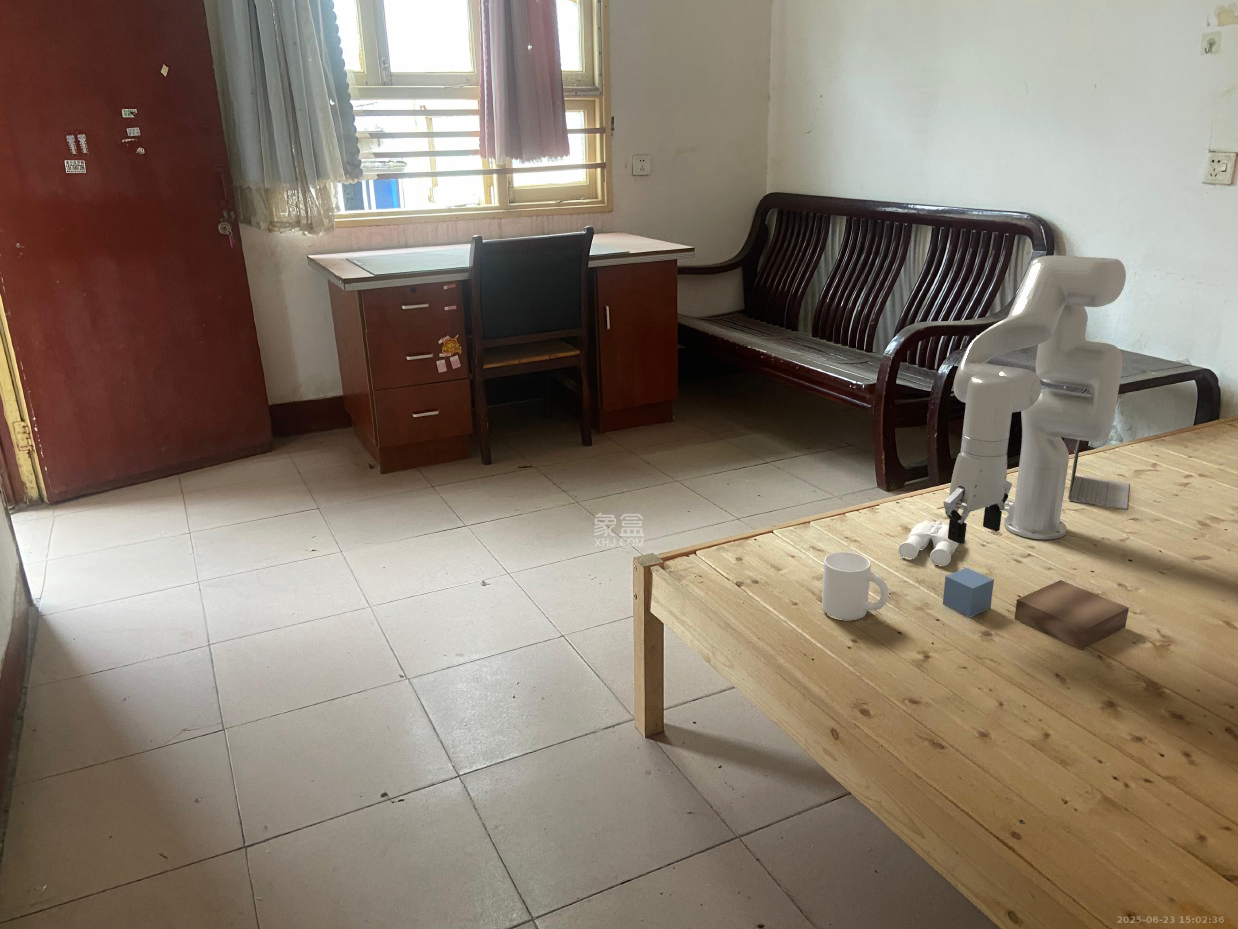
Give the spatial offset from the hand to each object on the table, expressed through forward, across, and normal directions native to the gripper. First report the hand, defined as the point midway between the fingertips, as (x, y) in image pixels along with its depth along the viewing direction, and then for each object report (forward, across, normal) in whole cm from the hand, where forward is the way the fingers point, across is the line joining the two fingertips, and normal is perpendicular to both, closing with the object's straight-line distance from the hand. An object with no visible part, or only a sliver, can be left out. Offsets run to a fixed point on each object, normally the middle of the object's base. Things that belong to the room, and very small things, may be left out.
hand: (973, 535), depth 164 cm
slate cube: (+15, -1, 0) cm, 15 cm away
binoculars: (+15, -16, -21) cm, 30 cm away
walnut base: (+15, -10, +14) cm, 23 cm away
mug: (+15, +18, -10) cm, 26 cm away
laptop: (+14, -73, -18) cm, 76 cm away
